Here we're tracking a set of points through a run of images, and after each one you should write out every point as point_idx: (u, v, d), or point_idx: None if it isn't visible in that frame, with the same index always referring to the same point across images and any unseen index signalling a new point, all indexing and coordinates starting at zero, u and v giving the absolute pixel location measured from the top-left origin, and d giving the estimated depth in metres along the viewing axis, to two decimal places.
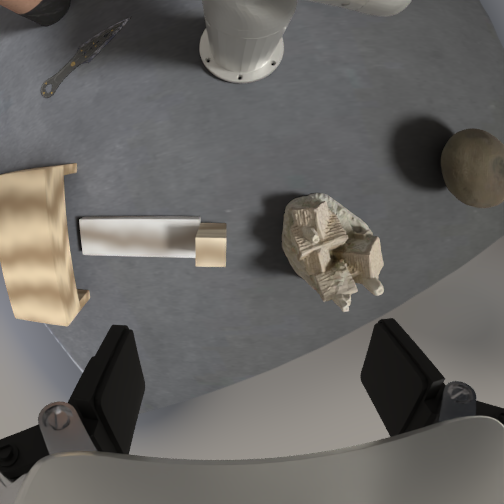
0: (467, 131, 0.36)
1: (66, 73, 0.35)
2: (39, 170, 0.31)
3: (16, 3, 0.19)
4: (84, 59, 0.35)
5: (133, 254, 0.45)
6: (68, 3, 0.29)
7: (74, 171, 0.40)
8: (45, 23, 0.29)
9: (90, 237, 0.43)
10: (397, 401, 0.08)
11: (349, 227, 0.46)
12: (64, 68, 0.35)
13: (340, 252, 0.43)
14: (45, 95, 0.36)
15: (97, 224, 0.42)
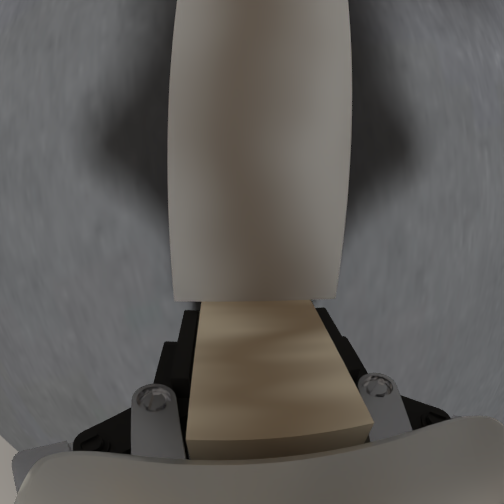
0: None
1: None
2: None
3: None
4: None
5: (185, 4, 0.07)
6: None
7: None
8: None
9: None
10: None
11: None
12: None
13: None
14: None
15: None
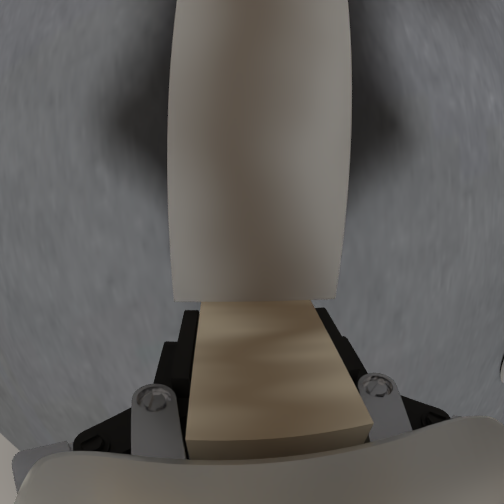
0: None
1: None
2: None
3: None
4: None
5: (184, 4, 0.07)
6: None
7: None
8: None
9: None
10: None
11: None
12: None
13: None
14: None
15: None
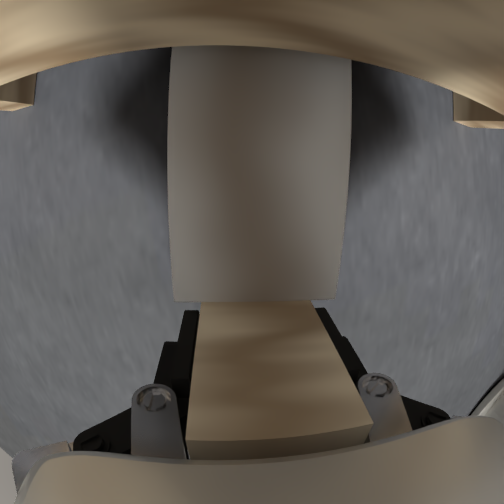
0: None
1: None
2: None
3: None
4: None
5: None
6: None
7: (465, 121, 0.11)
8: None
9: None
10: None
11: None
12: None
13: None
14: None
15: None
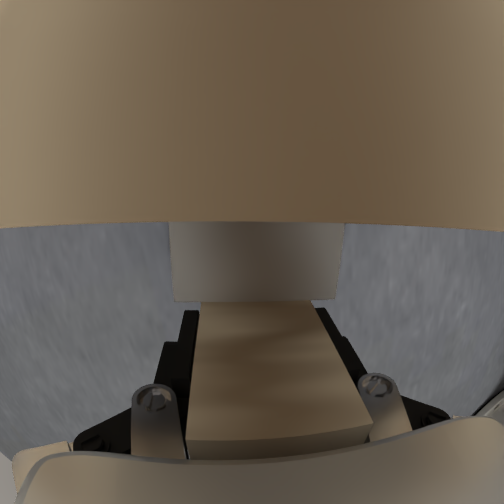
0: None
1: None
2: None
3: None
4: None
5: None
6: None
7: None
8: None
9: None
10: None
11: None
12: None
13: None
14: None
15: None
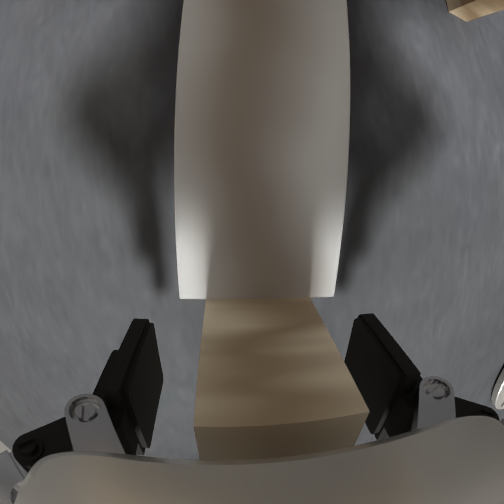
0: None
1: None
2: None
3: None
4: None
5: (190, 13, 0.08)
6: None
7: (459, 9, 0.08)
8: None
9: None
10: (375, 396, 0.09)
11: None
12: None
13: None
14: None
15: None
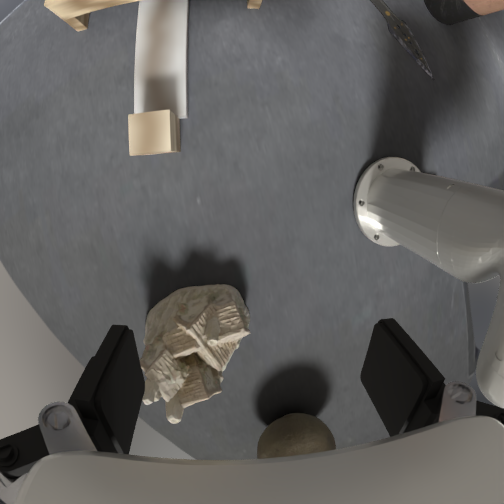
0: (331, 435, 0.42)
1: (377, 5, 0.28)
2: None
3: None
4: (391, 25, 0.29)
5: (138, 39, 0.26)
6: (446, 23, 0.29)
7: (249, 5, 0.27)
8: None
9: None
10: (397, 401, 0.08)
11: None
12: (383, 3, 0.28)
13: (195, 361, 0.36)
14: None
15: None
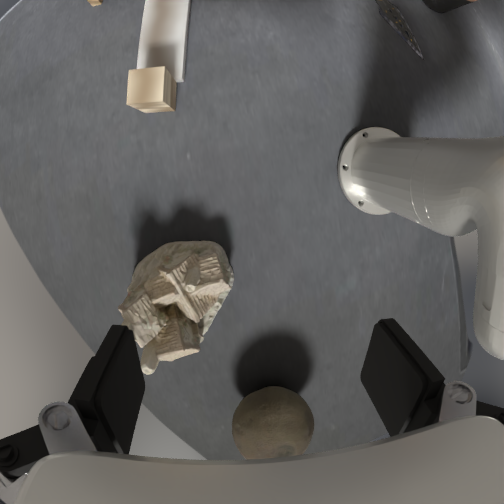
0: (309, 411, 0.42)
1: None
2: None
3: None
4: (383, 9, 0.30)
5: (145, 13, 0.27)
6: (438, 10, 0.29)
7: None
8: None
9: None
10: (397, 401, 0.08)
11: None
12: None
13: (175, 313, 0.37)
14: None
15: None
